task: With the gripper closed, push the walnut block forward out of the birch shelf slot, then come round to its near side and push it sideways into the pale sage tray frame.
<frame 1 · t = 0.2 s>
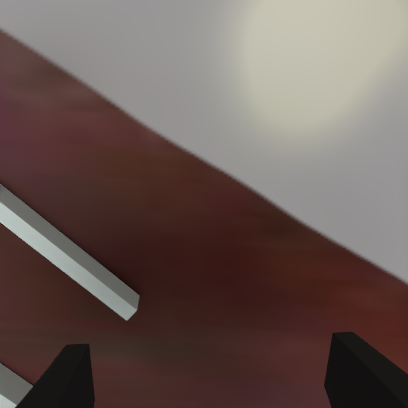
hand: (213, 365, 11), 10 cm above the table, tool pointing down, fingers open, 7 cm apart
tray frame: (17, 298, 21), on the table
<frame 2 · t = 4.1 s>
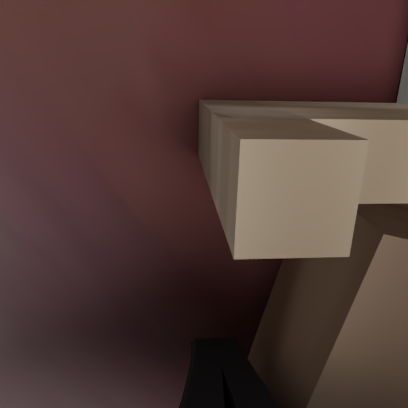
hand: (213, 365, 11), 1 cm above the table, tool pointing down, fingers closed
shelf slot: (283, 331, 13), on the table
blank: (321, 328, 13), on the table, touching gripper
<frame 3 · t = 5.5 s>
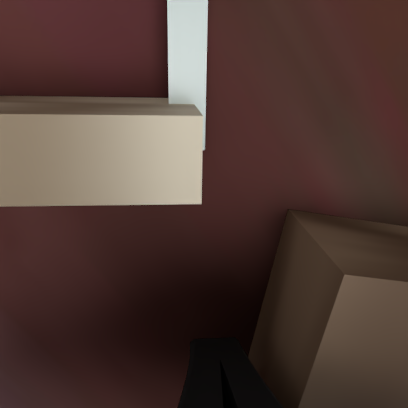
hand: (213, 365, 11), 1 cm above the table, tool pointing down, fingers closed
shelf slot: (95, 338, 12), on the table
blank: (310, 345, 13), on the table
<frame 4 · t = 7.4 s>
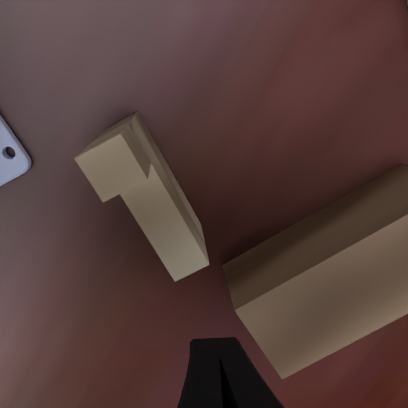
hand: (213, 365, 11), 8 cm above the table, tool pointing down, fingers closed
shelf slot: (290, 109, 17), on the table
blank: (325, 247, 19), on the table
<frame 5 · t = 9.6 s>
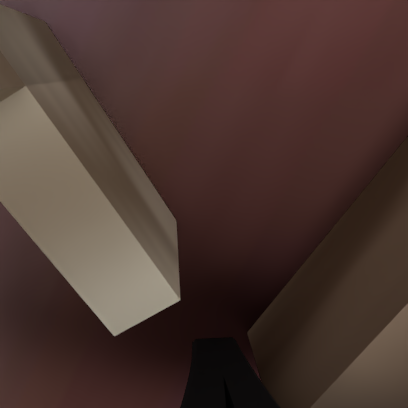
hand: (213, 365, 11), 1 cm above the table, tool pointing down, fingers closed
shelf slot: (320, 7, 9), on the table
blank: (392, 248, 12), on the table, touching gripper
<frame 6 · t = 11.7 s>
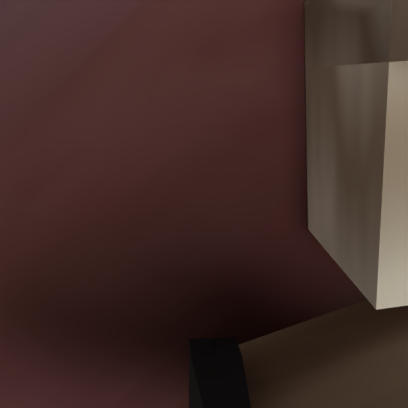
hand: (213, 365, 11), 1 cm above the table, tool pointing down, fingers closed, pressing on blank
shelf slot: (82, 153, 10), on the table
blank: (383, 349, 13), on the table, touching gripper, tray frame
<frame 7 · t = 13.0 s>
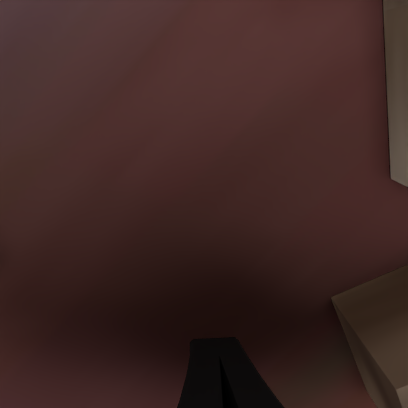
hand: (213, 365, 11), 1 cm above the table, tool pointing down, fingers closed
shelf slot: (165, 124, 10), on the table
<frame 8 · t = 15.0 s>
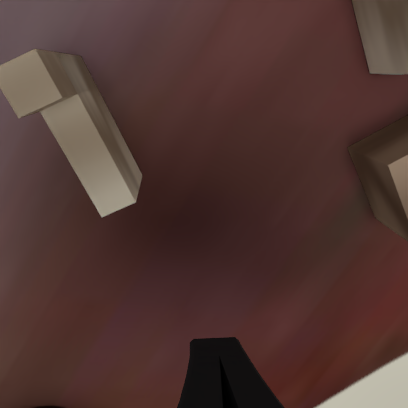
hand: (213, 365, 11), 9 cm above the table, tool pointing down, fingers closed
shelf slot: (231, 65, 17), on the table
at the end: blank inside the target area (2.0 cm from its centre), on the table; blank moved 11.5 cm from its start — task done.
